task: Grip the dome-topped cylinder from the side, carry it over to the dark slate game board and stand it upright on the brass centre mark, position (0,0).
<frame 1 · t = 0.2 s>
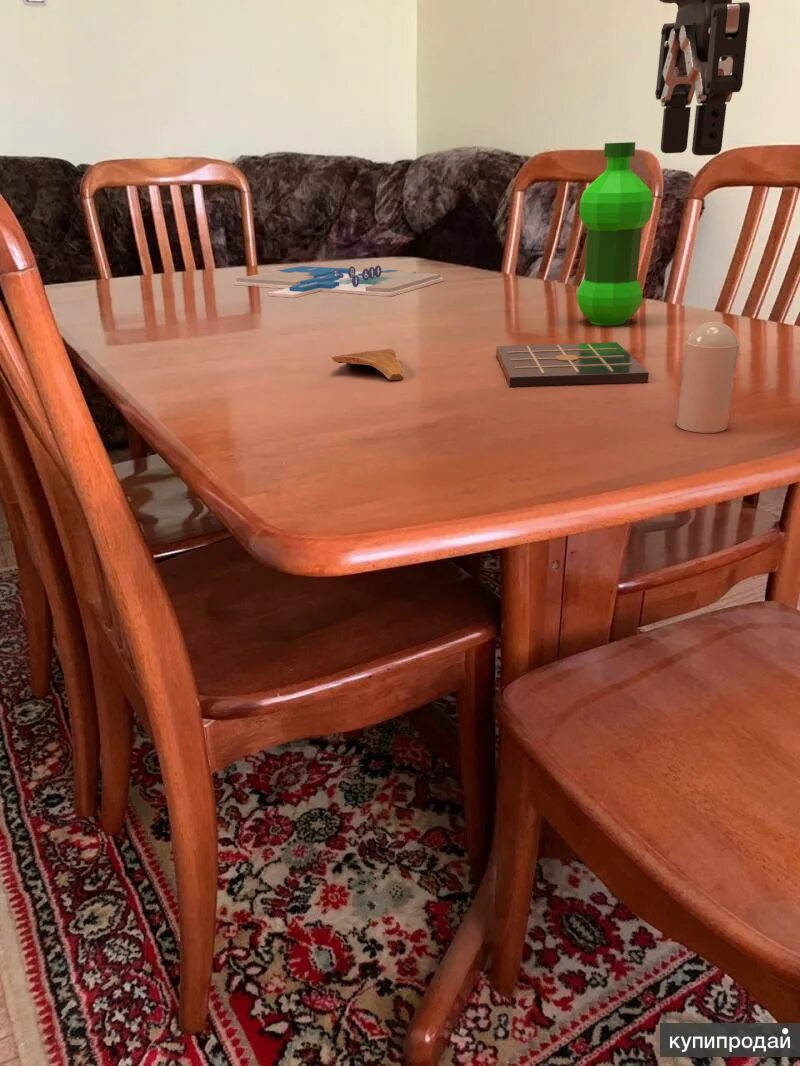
hand: (688, 154, 72), 24 cm above the table, tool pointing down, fingers open, 8 cm apart
plastic bottle: (607, 323, 127), on the table
board: (566, 367, 103), on the table
relief map: (329, 285, 171), on the table
dome-topped cylinder: (701, 425, 81), on the table
pottery shard: (375, 371, 105), on the table
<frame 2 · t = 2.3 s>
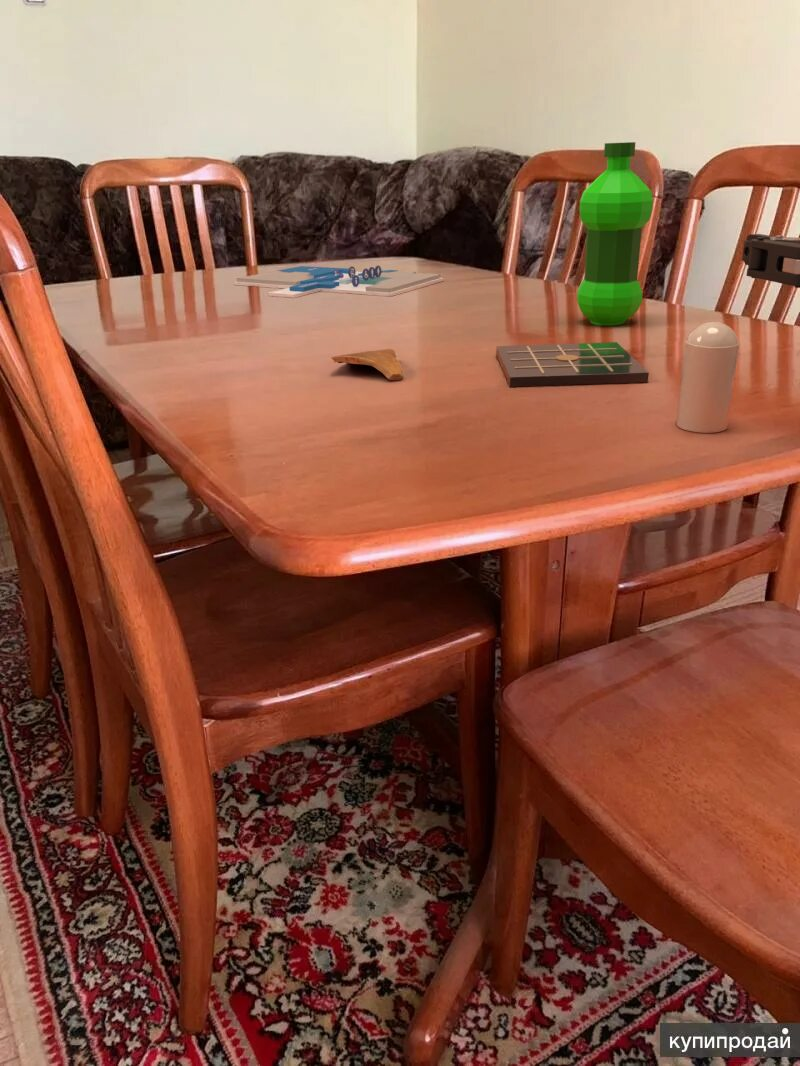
nothing on the table moved.
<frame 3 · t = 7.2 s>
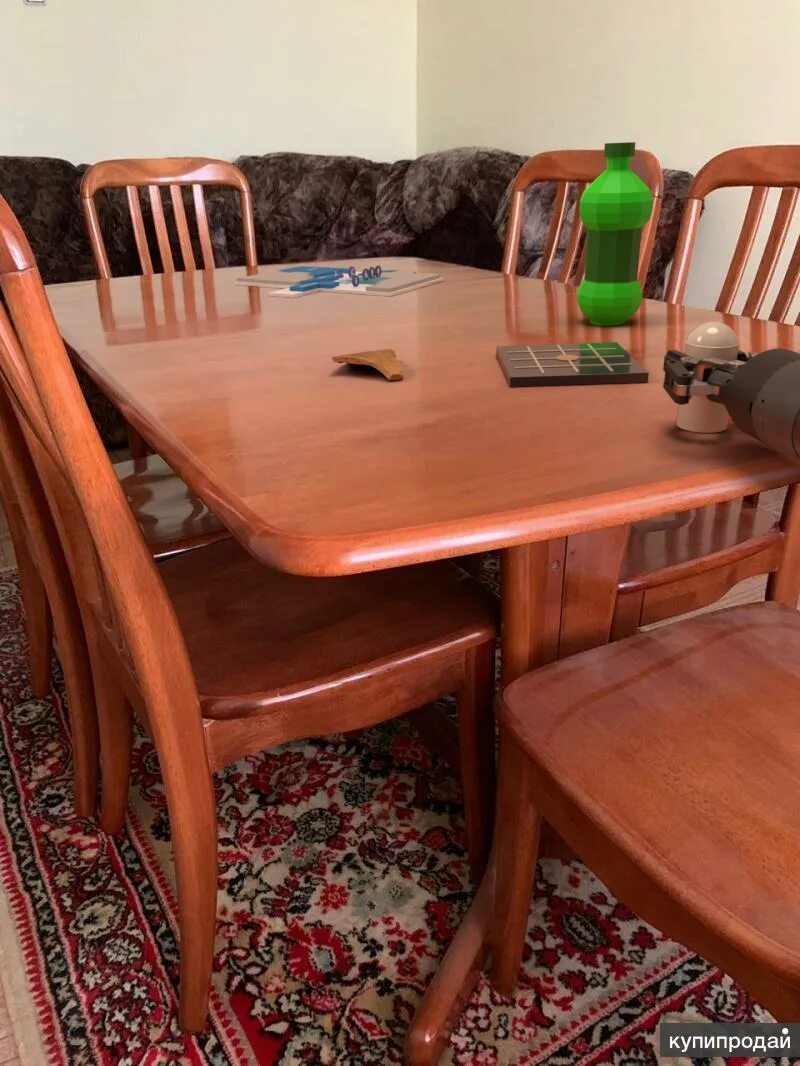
hand: (695, 358, 81), 6 cm above the table, tool horizontal, fingers closed on dome-topped cylinder, 5 cm apart
dome-topped cylinder: (701, 425, 81), on the table, touching gripper
everything else where it was.
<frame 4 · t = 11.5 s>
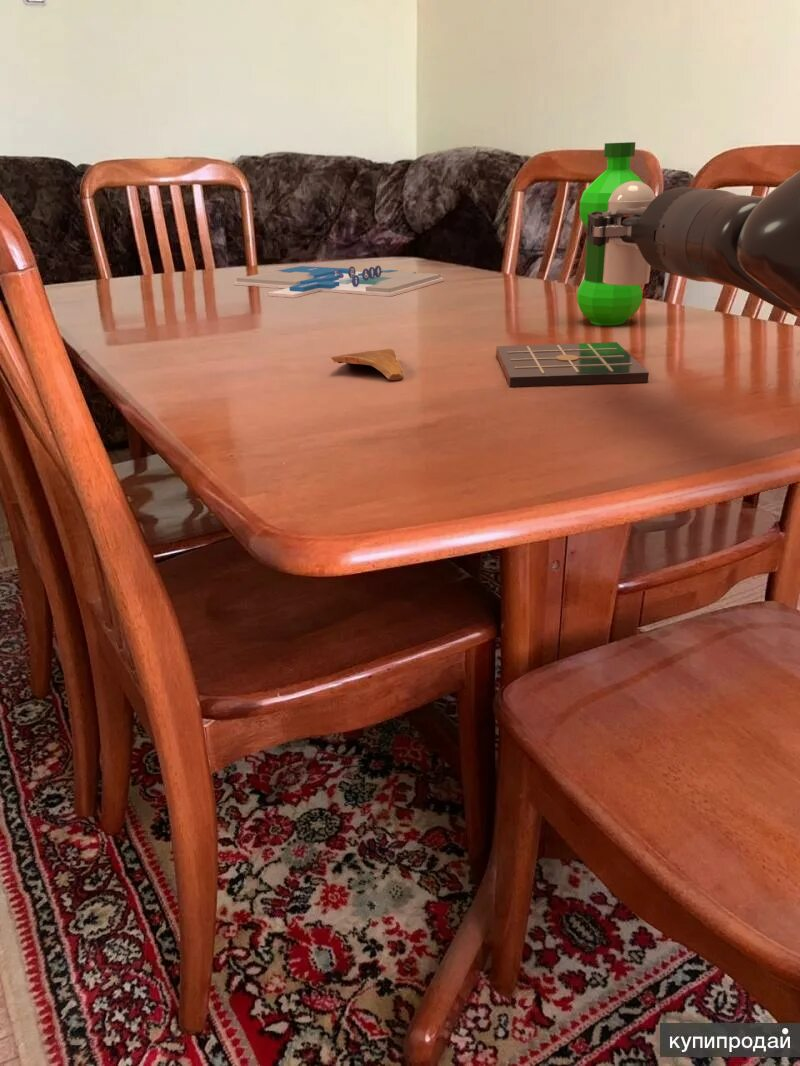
hand: (619, 220, 88), 18 cm above the table, tool horizontal, fingers closed on dome-topped cylinder, 5 cm apart
dome-topped cylinder: (625, 282, 88), point 12 cm above the table, touching gripper
everything else where it was.
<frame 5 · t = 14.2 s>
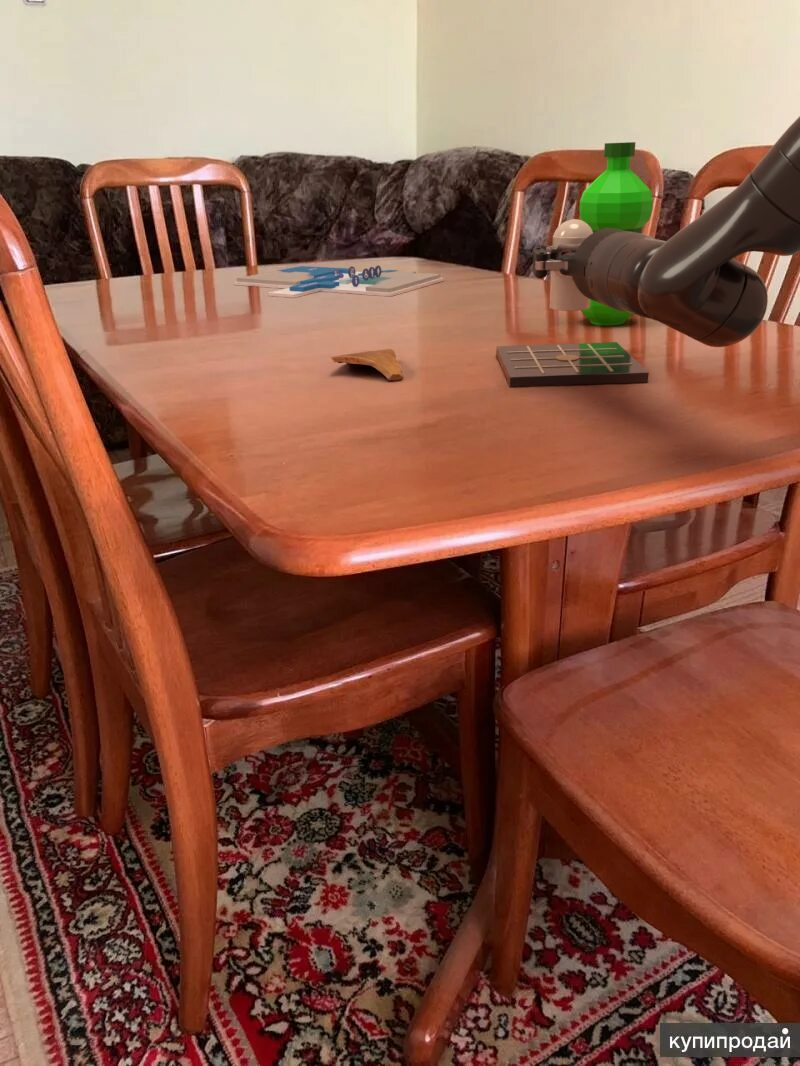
hand: (564, 253, 99), 13 cm above the table, tool horizontal, fingers closed on dome-topped cylinder, 5 cm apart
dome-topped cylinder: (569, 307, 100), point 7 cm above the table, touching gripper
everything else where it was.
when the fingers open (7 cm above the table, at t = 16.3 s): dome-topped cylinder stays where it is, resting on board.
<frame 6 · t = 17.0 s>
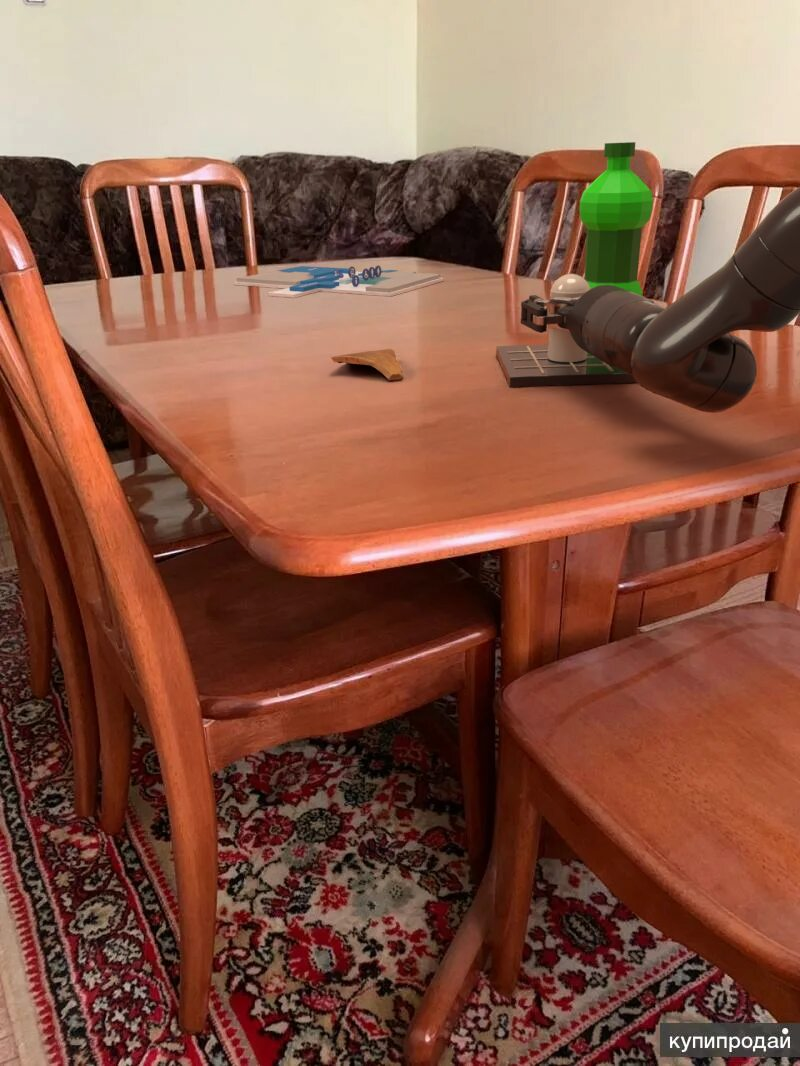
hand: (564, 301, 101), 8 cm above the table, tool horizontal, fingers open, 8 cm apart
dome-topped cylinder: (567, 357, 102), point 1 cm above the table, touching board
everything else where it was.
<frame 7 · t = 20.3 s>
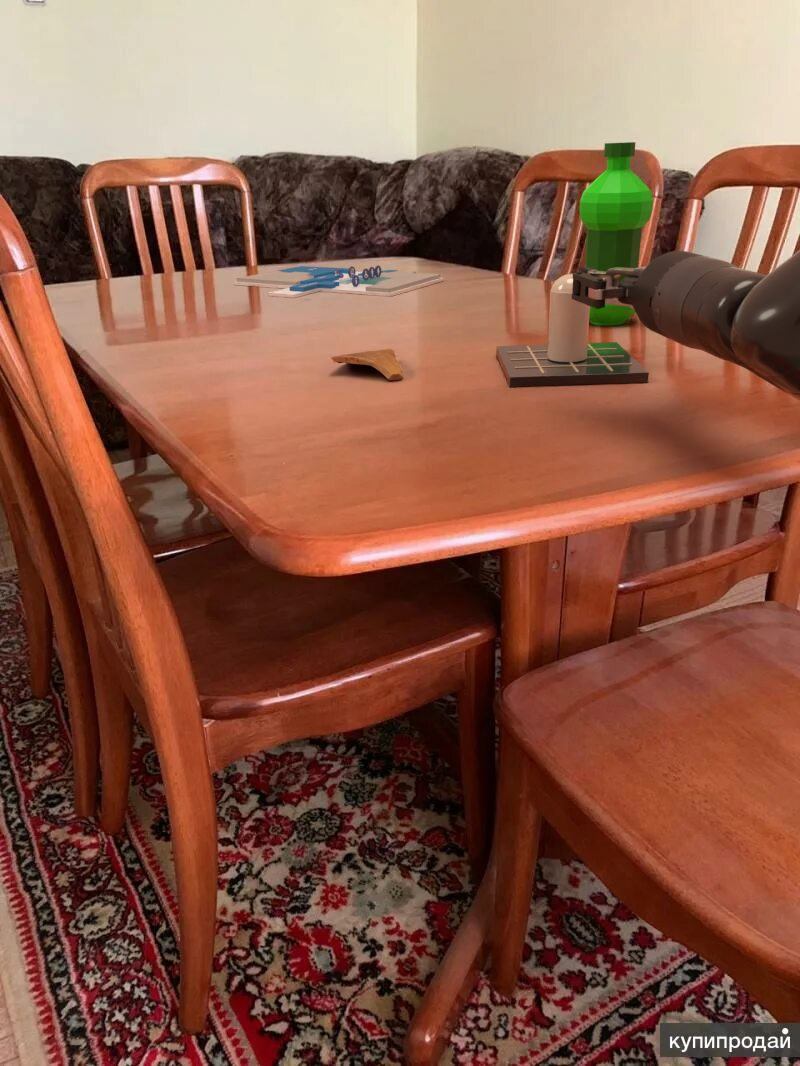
hand: (620, 274, 87), 13 cm above the table, tool horizontal, fingers open, 8 cm apart
nothing on the table moved.
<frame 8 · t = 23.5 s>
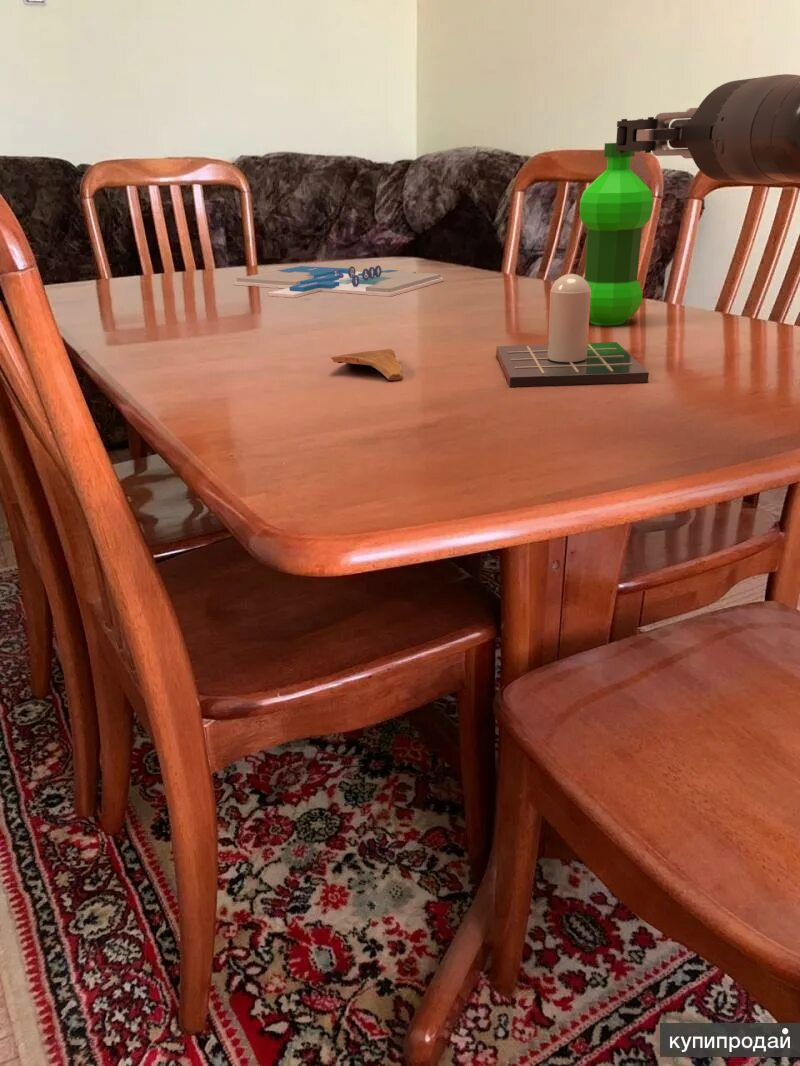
hand: (666, 134, 79), 26 cm above the table, tool horizontal, fingers open, 8 cm apart
nothing on the table moved.
at the end: dome-topped cylinder 0.1 cm off-centre on the board, point 1.3 cm above the board's base; dome-topped cylinder tilted 0°; dome-topped cylinder touching board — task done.
